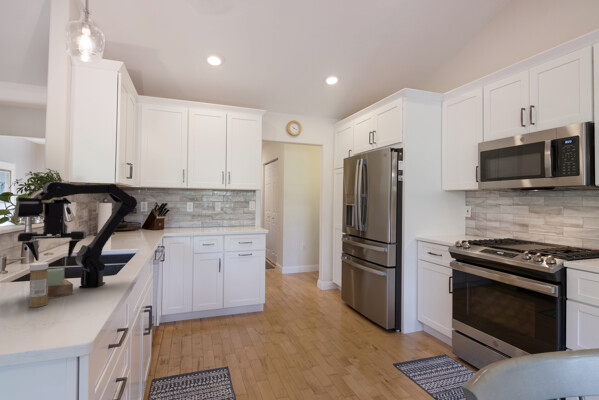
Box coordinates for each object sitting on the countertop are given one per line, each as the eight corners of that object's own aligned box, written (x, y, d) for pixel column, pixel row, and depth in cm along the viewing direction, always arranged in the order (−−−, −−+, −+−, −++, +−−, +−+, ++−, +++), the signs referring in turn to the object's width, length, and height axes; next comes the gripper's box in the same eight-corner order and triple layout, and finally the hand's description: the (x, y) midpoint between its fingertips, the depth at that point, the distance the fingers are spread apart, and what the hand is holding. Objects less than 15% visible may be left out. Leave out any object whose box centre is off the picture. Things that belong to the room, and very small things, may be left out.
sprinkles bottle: (49, 302, 101) (50, 261, 101) (45, 306, 97) (46, 263, 97) (31, 304, 99) (32, 262, 99) (26, 308, 95) (27, 265, 95)
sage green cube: (64, 281, 113) (64, 268, 113) (60, 285, 108) (60, 270, 108) (47, 283, 111) (47, 269, 111) (42, 286, 106) (42, 272, 106)
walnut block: (65, 289, 117) (66, 279, 117) (72, 295, 110) (72, 284, 110) (31, 295, 109) (31, 284, 109) (36, 301, 102) (36, 289, 102)
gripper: (89, 215, 122) (88, 254, 122) (29, 215, 114) (28, 257, 114) (83, 216, 112) (82, 259, 112) (17, 217, 104) (16, 263, 104)
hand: (53, 259), depth 111 cm, fingers open, 9 cm apart
